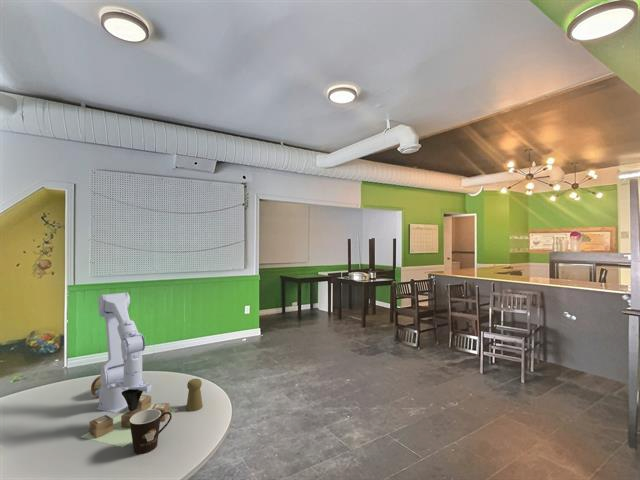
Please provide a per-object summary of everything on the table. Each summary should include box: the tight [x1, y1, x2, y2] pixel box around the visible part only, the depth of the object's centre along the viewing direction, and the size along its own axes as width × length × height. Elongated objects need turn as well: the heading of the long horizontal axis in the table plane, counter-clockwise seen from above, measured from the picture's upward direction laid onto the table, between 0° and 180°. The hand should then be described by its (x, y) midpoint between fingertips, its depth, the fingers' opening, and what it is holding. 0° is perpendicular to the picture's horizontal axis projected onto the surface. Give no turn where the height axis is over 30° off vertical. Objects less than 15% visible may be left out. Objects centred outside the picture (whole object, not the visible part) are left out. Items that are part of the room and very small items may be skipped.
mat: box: [80, 403, 179, 448], centre depth 115 cm, size 18×24×1 cm
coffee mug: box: [130, 409, 173, 455], centre depth 101 cm, size 12×9×10 cm
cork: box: [185, 378, 204, 413], centre depth 125 cm, size 6×6×11 cm
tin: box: [90, 375, 102, 398], centre depth 139 cm, size 15×3×8 cm, turn 155°
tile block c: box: [137, 394, 152, 410], centre depth 124 cm, size 5×5×4 cm
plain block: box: [121, 409, 144, 428], centre depth 114 cm, size 5×5×4 cm
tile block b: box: [152, 402, 170, 422], centre depth 118 cm, size 5×5×4 cm
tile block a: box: [88, 414, 113, 438], centre depth 109 cm, size 5×5×4 cm
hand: (133, 409), depth 114 cm, fingers closed
